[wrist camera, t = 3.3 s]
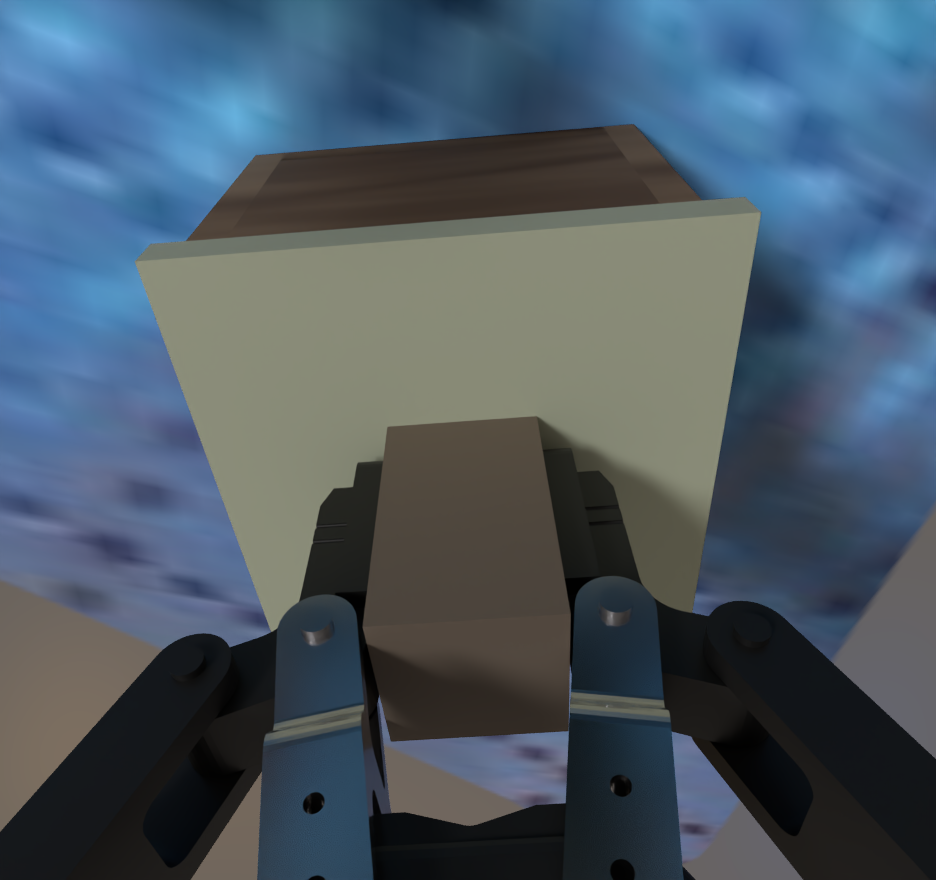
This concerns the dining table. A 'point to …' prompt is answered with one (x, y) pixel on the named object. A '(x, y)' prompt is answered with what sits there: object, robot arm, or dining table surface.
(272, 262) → the lid
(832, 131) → the dining table surface
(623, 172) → the box
